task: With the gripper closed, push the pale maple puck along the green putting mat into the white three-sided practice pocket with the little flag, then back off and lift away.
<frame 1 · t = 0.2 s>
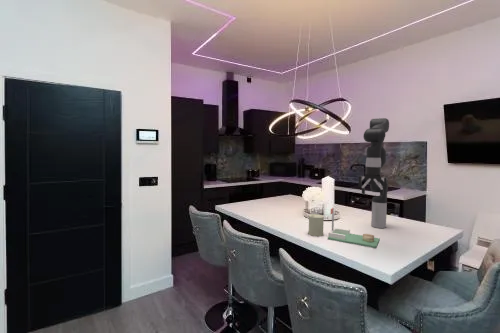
hand: (372, 195, 145), 28 cm above the kitchen island, fingers open, 8 cm apart
putting green: (353, 239, 157), on the kitchen island
puck: (368, 240, 152), point 1 cm above the kitchen island, touching putting green
can: (315, 234, 167), on the kitchen island
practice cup: (340, 235, 160), resting on putting green
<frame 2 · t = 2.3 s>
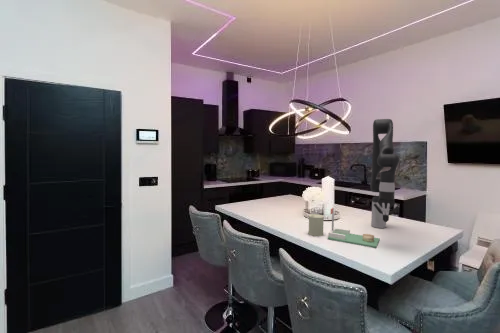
hand: (385, 221, 147), 13 cm above the kitchen island, fingers closed
nothing on the kitchen island moved.
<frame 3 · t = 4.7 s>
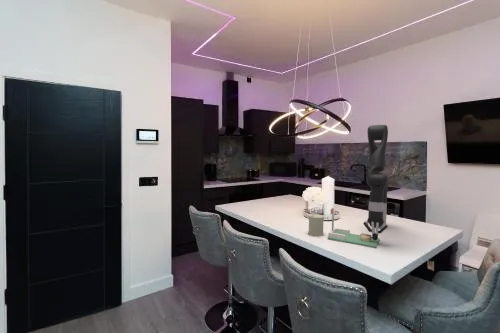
hand: (374, 239, 150), 2 cm above the kitchen island, fingers closed
puck: (365, 240, 153), point 1 cm above the kitchen island, touching gripper, putting green
everything else where it was.
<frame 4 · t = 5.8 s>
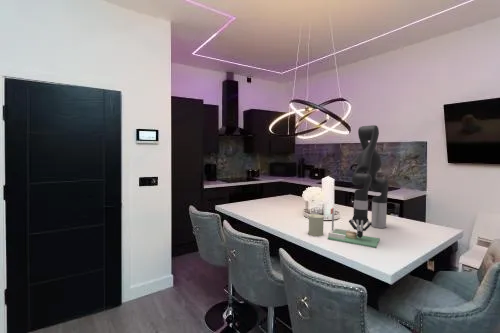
hand: (359, 237, 154), 2 cm above the kitchen island, fingers closed
puck: (351, 237, 157), point 1 cm above the kitchen island, touching gripper
everything else where it was.
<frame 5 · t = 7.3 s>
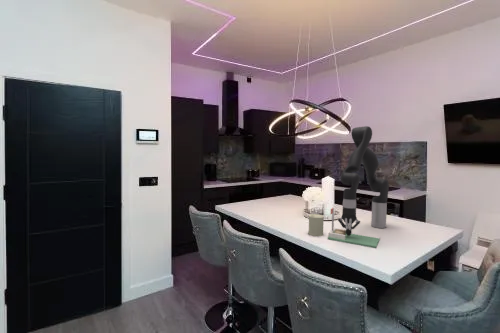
hand: (348, 235, 158), 2 cm above the kitchen island, fingers closed
puck: (340, 235, 161), point 1 cm above the kitchen island, touching gripper, putting green
everything else where it was.
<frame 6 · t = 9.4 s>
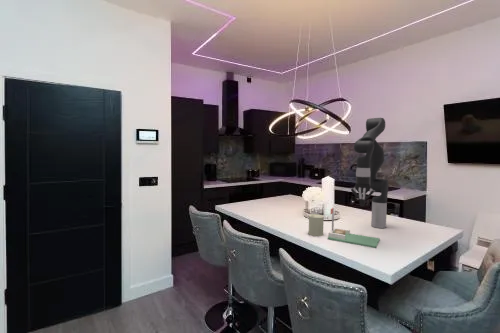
hand: (362, 205, 153), 21 cm above the kitchen island, fingers closed
puck: (340, 235, 161), point 1 cm above the kitchen island, touching putting green
everything else where it was.
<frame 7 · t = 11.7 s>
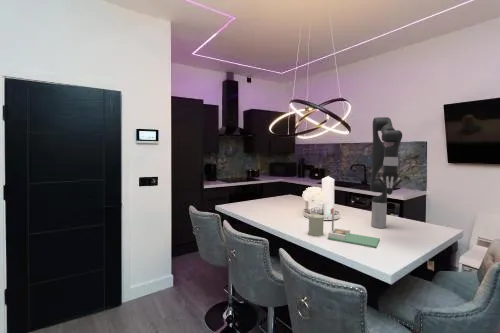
hand: (389, 194, 155), 27 cm above the kitchen island, fingers closed
nothing on the kitchen island moved.
at the end: puck 0.4 cm off-centre on the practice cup, point 0.0 cm above the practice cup's base; puck tilted 0° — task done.
